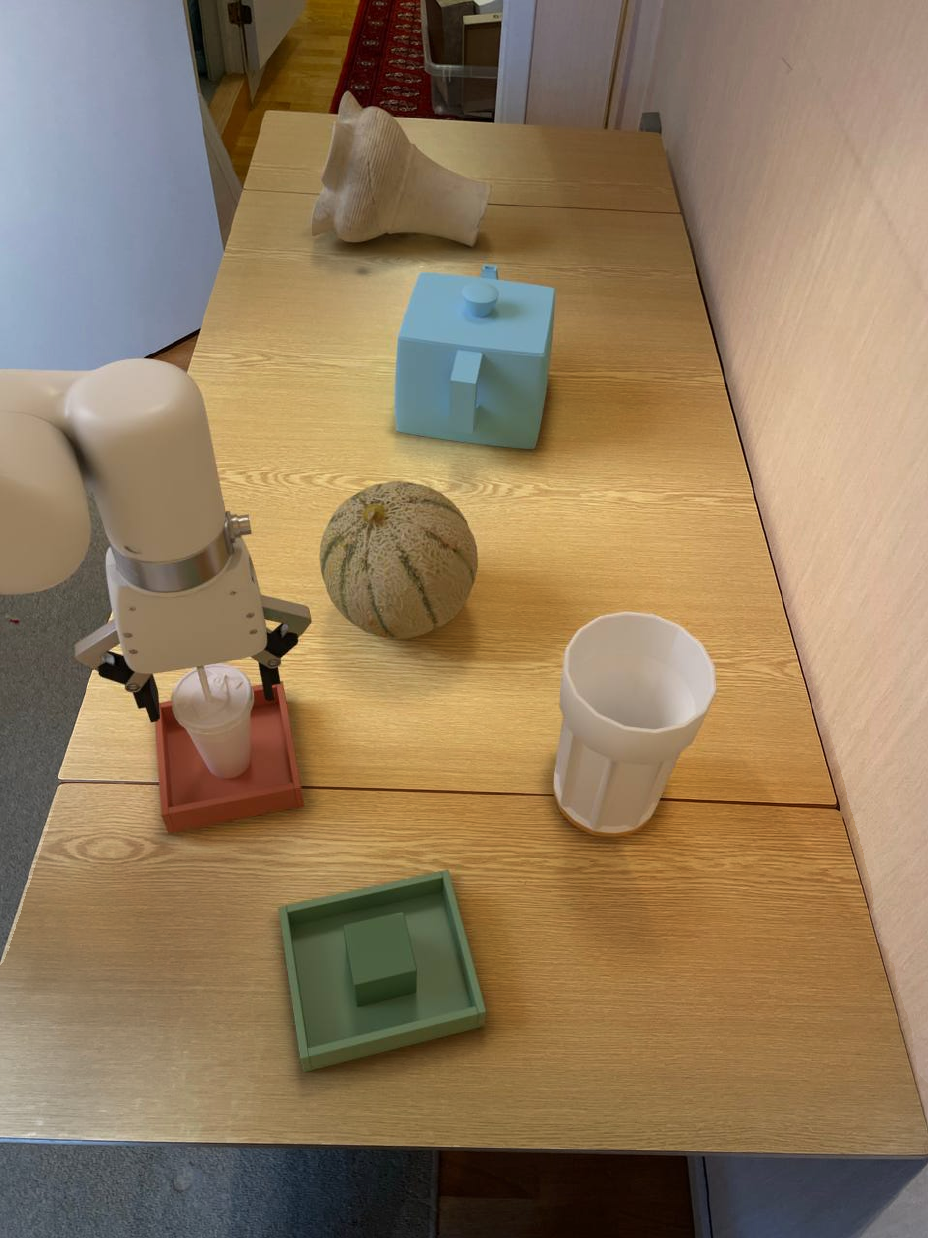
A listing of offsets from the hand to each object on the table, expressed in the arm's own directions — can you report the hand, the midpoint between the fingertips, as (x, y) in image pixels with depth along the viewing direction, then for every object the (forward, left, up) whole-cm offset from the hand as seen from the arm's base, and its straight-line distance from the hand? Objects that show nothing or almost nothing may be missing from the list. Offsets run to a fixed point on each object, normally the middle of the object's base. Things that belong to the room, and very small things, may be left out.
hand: (211, 696), depth 77 cm
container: (+34, +45, -10) cm, 57 cm away
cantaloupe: (+18, +14, -10) cm, 25 cm away
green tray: (+9, -21, -10) cm, 25 cm away
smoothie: (0, 0, -10) cm, 10 cm away
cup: (+31, -10, -10) cm, 34 cm away
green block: (+9, -21, -9) cm, 25 cm away
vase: (+34, +83, -10) cm, 90 cm away
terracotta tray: (0, 0, -10) cm, 10 cm away
